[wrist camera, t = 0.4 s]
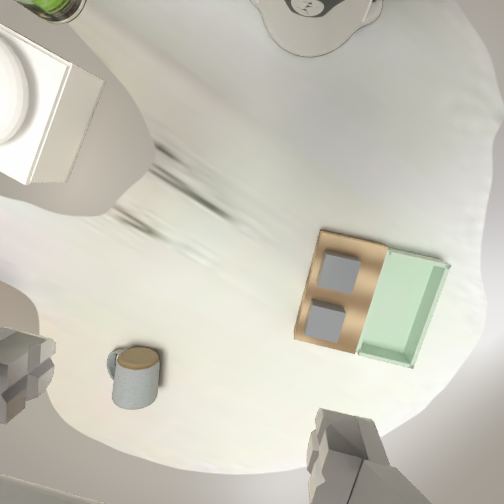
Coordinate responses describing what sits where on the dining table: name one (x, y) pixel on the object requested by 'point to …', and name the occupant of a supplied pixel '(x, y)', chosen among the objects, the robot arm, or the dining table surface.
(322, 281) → the tile
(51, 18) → the coffee can
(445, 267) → the tray
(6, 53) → the butter dish
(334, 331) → the tile
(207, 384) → the dining table surface
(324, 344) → the board
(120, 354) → the ceramic mug
